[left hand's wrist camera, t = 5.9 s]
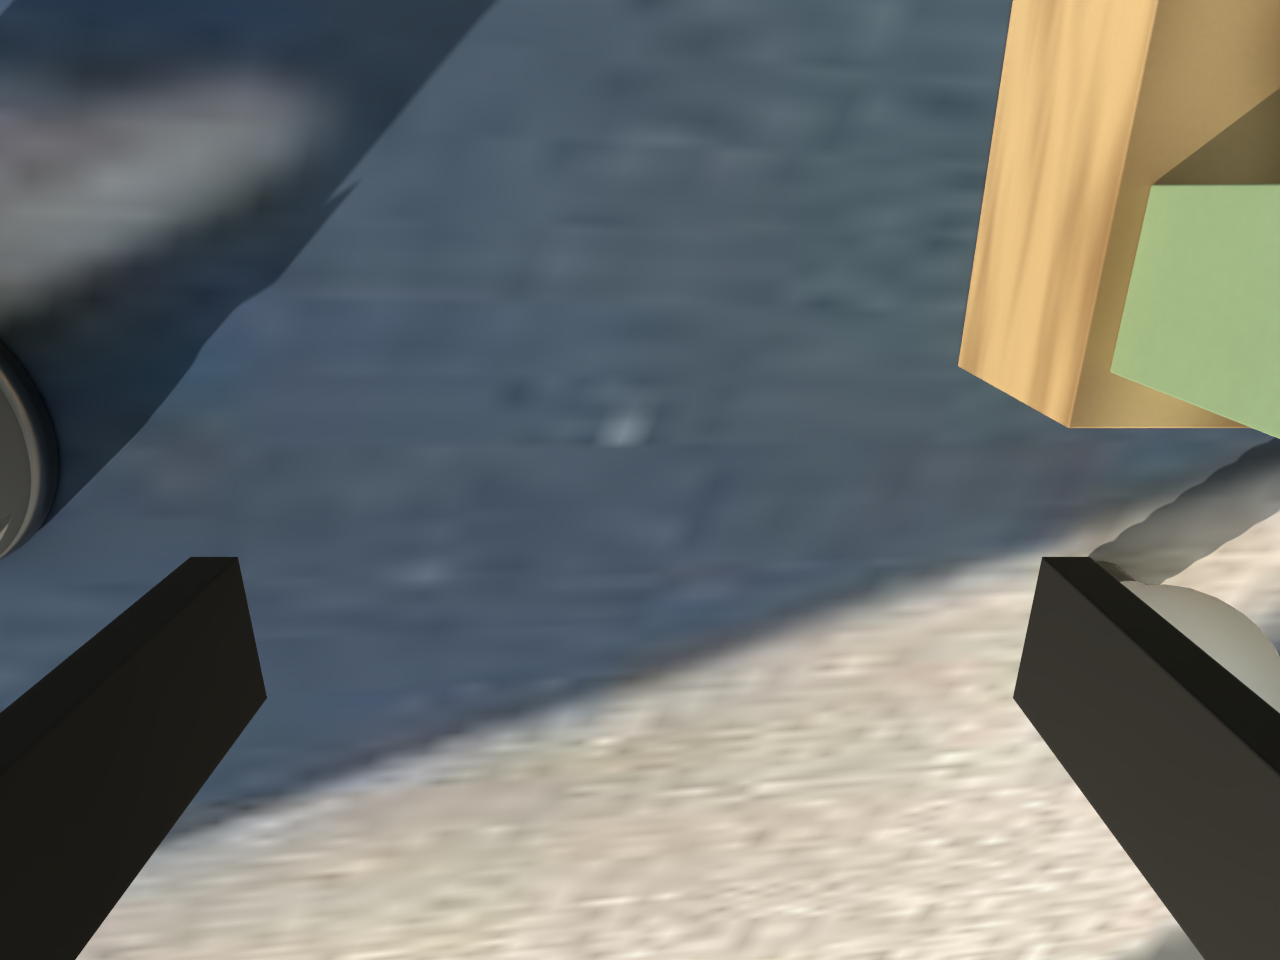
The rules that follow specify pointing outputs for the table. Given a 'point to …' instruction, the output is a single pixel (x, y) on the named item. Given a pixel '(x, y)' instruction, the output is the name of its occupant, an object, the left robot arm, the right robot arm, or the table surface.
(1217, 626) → the light bulb
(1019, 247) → the plank
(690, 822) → the table surface
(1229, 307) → the cap block
